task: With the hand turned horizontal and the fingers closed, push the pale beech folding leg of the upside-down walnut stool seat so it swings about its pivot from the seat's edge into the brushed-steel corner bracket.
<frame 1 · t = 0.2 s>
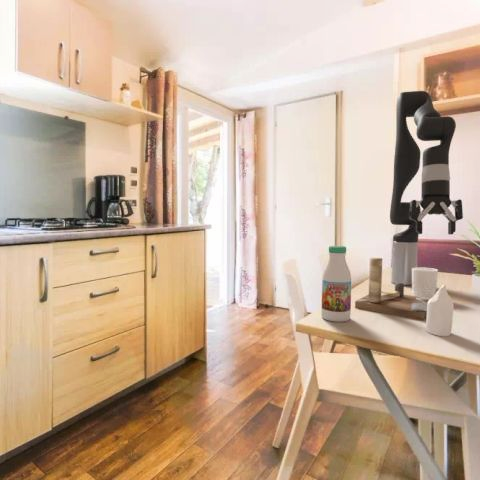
hand: (435, 234, 104), 23 cm above the table, tool pointing down, fingers open, 8 cm apart
corner bracket: (413, 314, 98), resting on stool seat
white pointed cylinder: (438, 333, 84), on the table
stool seat: (397, 306, 106), on the table
hinged leg: (387, 277, 106), point 9 cm above the table, hinge at 0.0°
milk bottle: (335, 318, 95), on the table
white cup: (423, 298, 118), on the table
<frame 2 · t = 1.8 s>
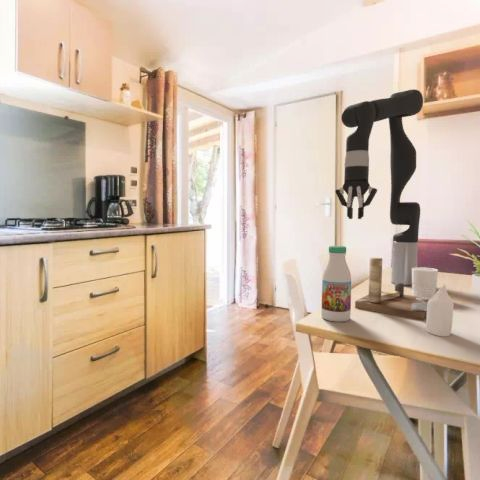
hand: (355, 218, 114), 27 cm above the table, tool pointing down, fingers closed
nothing on the table moved.
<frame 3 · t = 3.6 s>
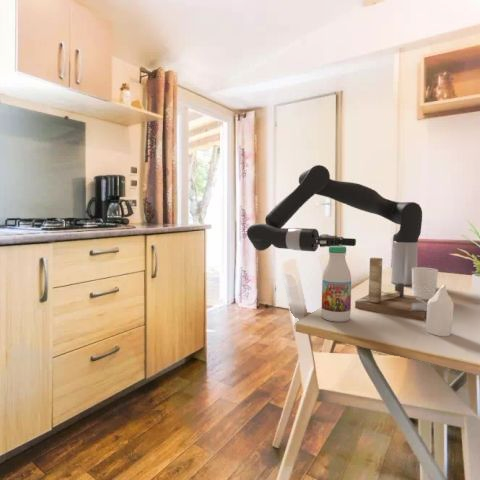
hand: (355, 242, 106), 20 cm above the table, tool horizontal, fingers closed
nothing on the table moved.
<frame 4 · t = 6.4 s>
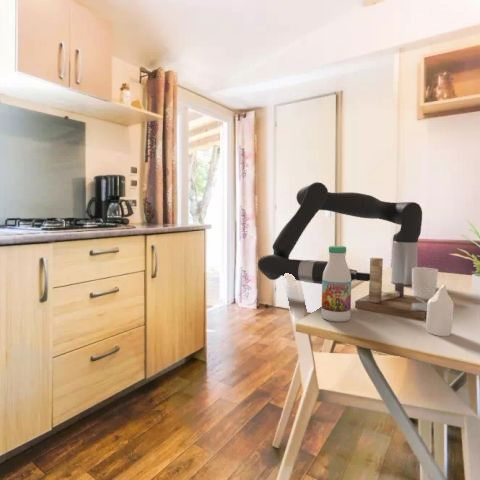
hand: (369, 277, 104), 9 cm above the table, tool horizontal, fingers closed
hinged leg: (387, 277, 106), point 9 cm above the table, hinge at 0.6°, touching gripper
everything else where it was.
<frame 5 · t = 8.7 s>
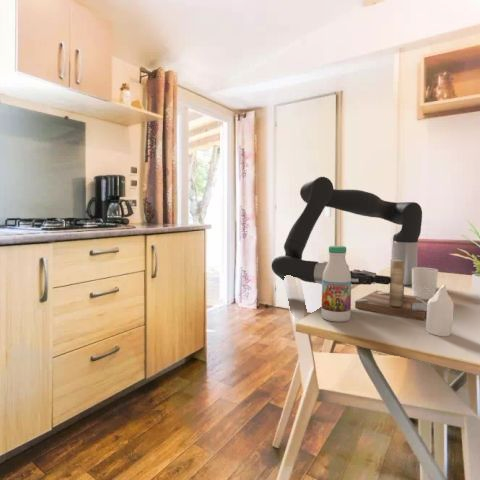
hand: (389, 280, 99), 9 cm above the table, tool horizontal, fingers closed
hinged leg: (398, 279, 104), point 9 cm above the table, hinge at 28.6°, touching gripper
everything else where it was.
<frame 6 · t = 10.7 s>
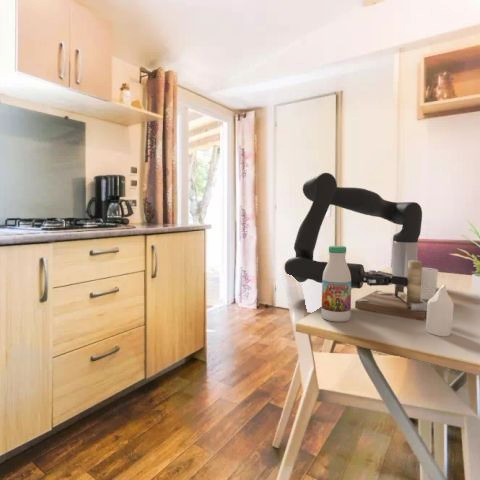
hand: (407, 281, 98), 10 cm above the table, tool horizontal, fingers closed
hinged leg: (406, 279, 103), point 9 cm above the table, hinge at 49.6°, touching gripper
everything else where it was.
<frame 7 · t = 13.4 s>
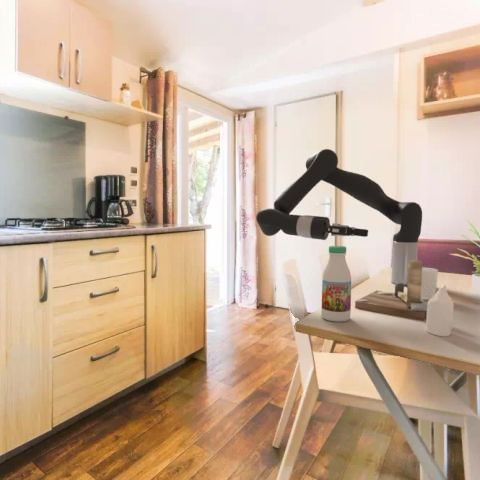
hand: (367, 233, 105), 23 cm above the table, tool horizontal, fingers closed
hinged leg: (406, 279, 103), point 9 cm above the table, hinge at 49.8°
everything else where it was.
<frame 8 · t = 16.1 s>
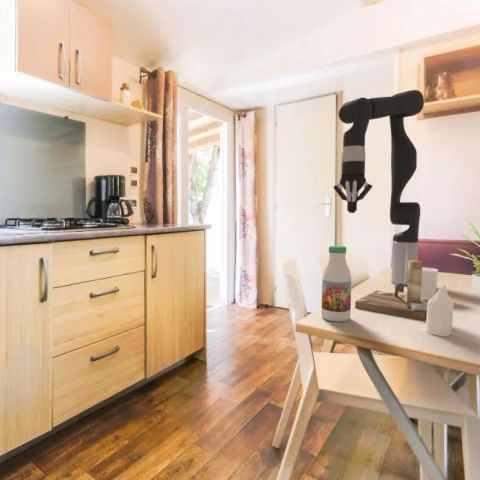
hand: (351, 212, 117), 29 cm above the table, tool pointing down, fingers closed
nothing on the table moved.
at the end: hinged leg at +50° (first picture: +0°); the gripper is holding nothing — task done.
